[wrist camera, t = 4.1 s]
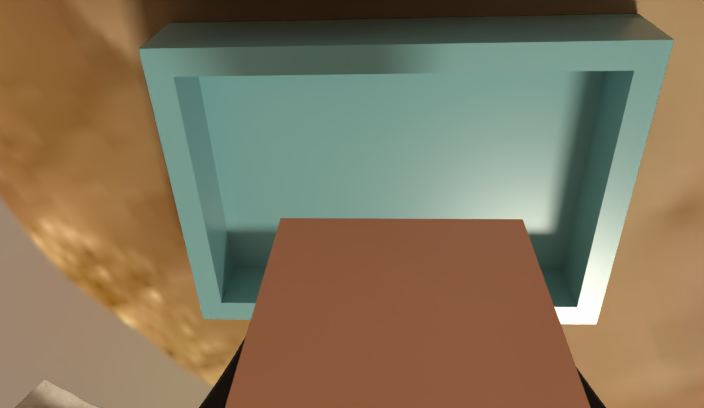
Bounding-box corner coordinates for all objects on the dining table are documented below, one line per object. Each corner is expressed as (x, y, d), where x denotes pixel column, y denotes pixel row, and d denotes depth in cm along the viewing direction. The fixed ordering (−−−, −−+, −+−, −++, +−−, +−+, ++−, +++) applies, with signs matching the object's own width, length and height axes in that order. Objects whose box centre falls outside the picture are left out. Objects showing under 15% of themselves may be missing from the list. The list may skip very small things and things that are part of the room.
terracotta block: (522, 219, 12) (598, 430, 7) (497, 385, 14) (543, 612, 10) (280, 218, 12) (221, 419, 8) (299, 381, 15) (262, 598, 10)
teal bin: (638, 13, 17) (674, 39, 15) (576, 277, 22) (596, 324, 20) (168, 22, 18) (138, 48, 15) (220, 274, 23) (203, 318, 21)
